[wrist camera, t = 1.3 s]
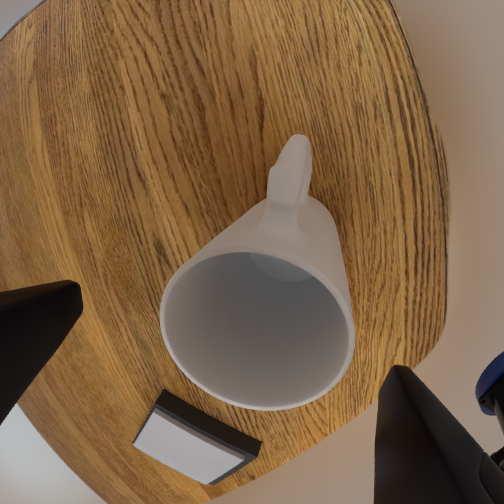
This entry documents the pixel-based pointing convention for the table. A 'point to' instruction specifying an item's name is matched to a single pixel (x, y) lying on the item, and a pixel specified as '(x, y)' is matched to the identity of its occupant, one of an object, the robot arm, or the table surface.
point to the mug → (266, 299)
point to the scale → (194, 441)
